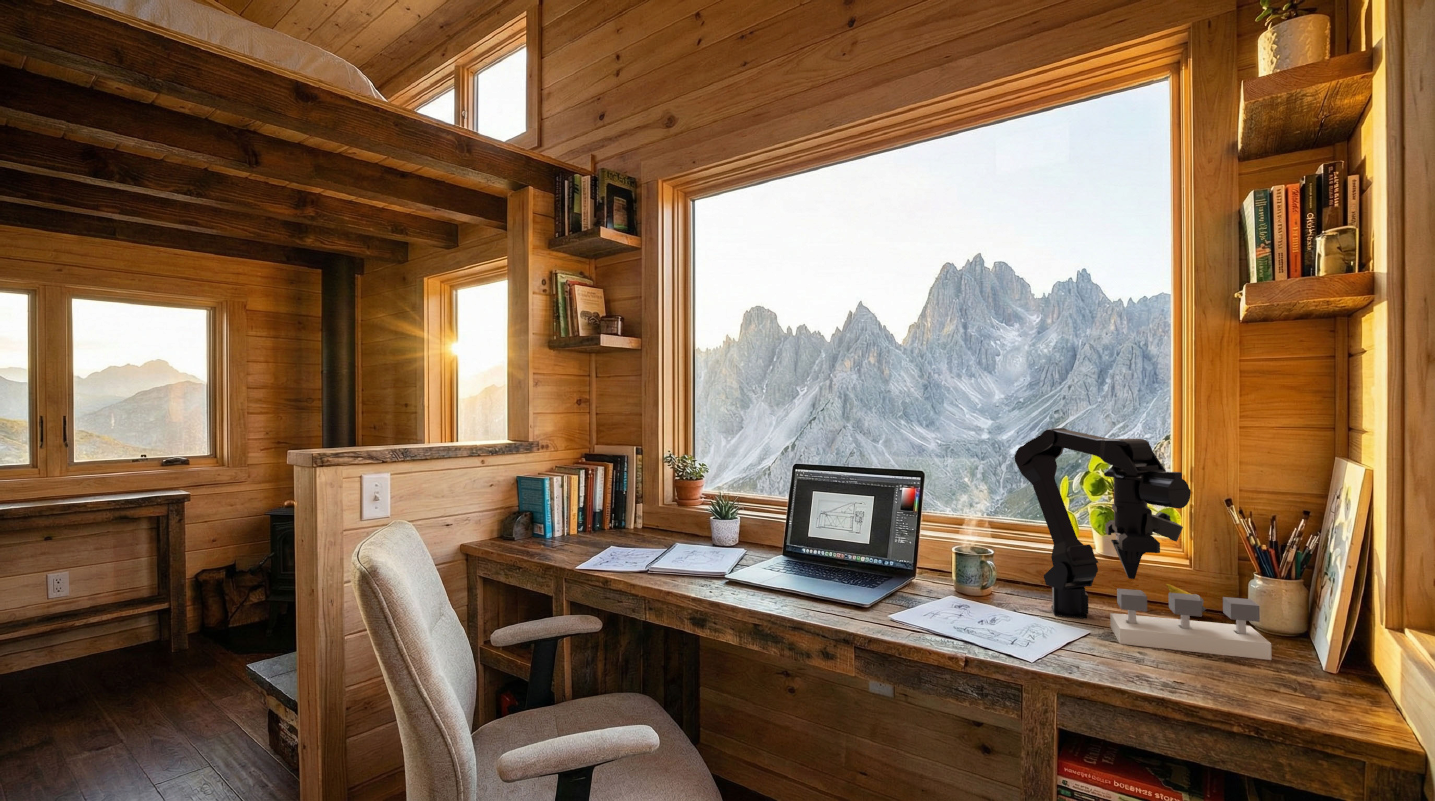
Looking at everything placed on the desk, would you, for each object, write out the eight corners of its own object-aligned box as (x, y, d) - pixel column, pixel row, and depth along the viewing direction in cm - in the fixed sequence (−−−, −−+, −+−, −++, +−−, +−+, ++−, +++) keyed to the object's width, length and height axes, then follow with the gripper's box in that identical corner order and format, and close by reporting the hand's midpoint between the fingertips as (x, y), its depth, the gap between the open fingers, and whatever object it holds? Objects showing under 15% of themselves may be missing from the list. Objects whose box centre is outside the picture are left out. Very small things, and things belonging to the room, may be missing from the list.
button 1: (1121, 624, 132) (1121, 594, 132) (1117, 617, 136) (1117, 588, 136) (1147, 626, 130) (1147, 596, 130) (1142, 619, 134) (1141, 590, 134)
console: (1120, 643, 129) (1119, 628, 129) (1110, 627, 139) (1110, 612, 139) (1271, 659, 121) (1271, 643, 121) (1250, 641, 130) (1250, 625, 130)
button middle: (1175, 629, 128) (1174, 598, 128) (1168, 622, 132) (1168, 592, 132) (1202, 632, 127) (1201, 601, 127) (1195, 624, 131) (1194, 594, 131)
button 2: (1231, 635, 125) (1230, 603, 125) (1223, 627, 129) (1222, 596, 129) (1259, 637, 123) (1259, 605, 123) (1250, 630, 128) (1250, 599, 128)
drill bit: (1210, 623, 142) (1172, 590, 143) (1188, 626, 146) (1152, 594, 148) (1217, 604, 144) (1180, 572, 146) (1196, 608, 149) (1160, 576, 150)
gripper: (1192, 510, 121) (1193, 595, 121) (1165, 496, 139) (1166, 570, 139) (1122, 507, 125) (1123, 589, 125) (1104, 494, 143) (1105, 566, 143)
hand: (1131, 578), depth 133 cm, fingers closed
